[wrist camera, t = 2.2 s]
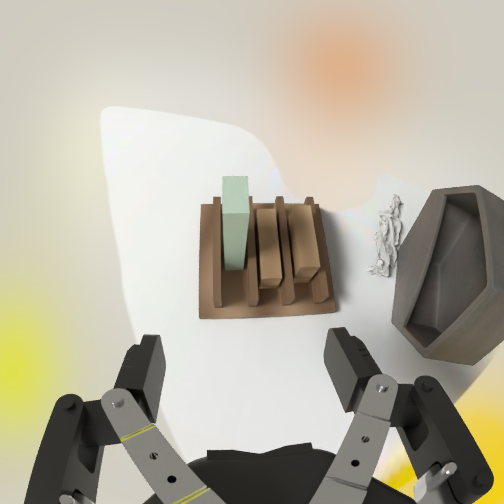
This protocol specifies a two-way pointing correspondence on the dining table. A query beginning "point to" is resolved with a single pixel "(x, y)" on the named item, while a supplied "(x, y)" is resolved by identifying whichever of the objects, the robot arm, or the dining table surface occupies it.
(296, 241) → the offcut
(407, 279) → the planter
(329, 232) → the dining table surface
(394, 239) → the white statue
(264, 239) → the offcut
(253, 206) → the rack
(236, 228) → the pale green block
